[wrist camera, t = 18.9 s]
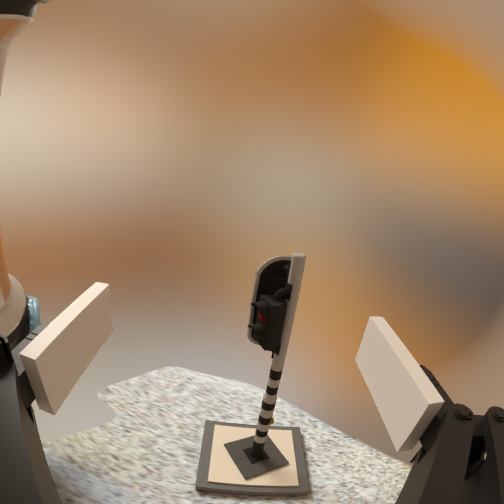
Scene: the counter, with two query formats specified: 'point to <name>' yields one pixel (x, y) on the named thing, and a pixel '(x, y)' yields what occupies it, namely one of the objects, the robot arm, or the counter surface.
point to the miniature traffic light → (276, 340)
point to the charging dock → (228, 475)
